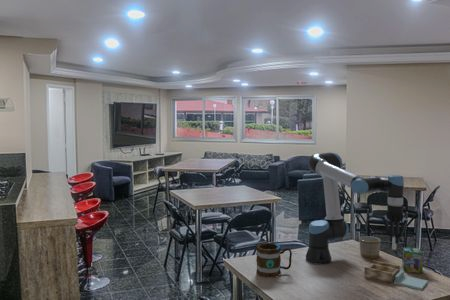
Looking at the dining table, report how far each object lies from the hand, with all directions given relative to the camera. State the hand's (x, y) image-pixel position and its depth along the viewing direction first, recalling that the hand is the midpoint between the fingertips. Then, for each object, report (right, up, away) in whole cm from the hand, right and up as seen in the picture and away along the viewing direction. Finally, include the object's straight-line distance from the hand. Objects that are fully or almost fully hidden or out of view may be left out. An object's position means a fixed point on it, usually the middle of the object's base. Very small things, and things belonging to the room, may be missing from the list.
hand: (394, 249), depth 203 cm
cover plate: (+7, -17, -4) cm, 19 cm away
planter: (+2, -14, +39) cm, 41 cm away
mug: (-62, -16, +11) cm, 65 cm away
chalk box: (+16, -15, +14) cm, 26 cm away
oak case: (-5, -16, +5) cm, 17 cm away
